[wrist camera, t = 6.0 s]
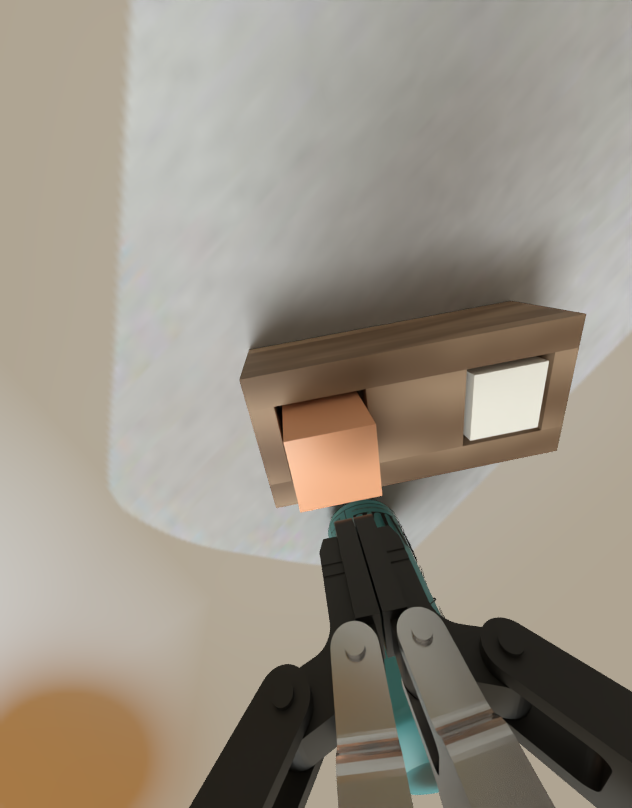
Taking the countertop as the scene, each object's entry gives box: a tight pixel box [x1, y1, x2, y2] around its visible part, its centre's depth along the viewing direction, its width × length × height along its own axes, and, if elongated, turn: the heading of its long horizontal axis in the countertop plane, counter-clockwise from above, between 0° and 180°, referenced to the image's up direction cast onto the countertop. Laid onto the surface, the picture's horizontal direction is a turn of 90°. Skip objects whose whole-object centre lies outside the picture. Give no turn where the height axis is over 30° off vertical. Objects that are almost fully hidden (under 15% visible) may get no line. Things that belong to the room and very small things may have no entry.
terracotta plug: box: [282, 391, 382, 513], centre depth 18 cm, size 4×4×5 cm
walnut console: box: [240, 301, 586, 508], centre depth 21 cm, size 9×19×6 cm, turn 99°
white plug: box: [463, 356, 549, 441], centre depth 21 cm, size 4×4×5 cm
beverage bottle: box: [328, 500, 445, 795], centre depth 20 cm, size 6×7×20 cm
